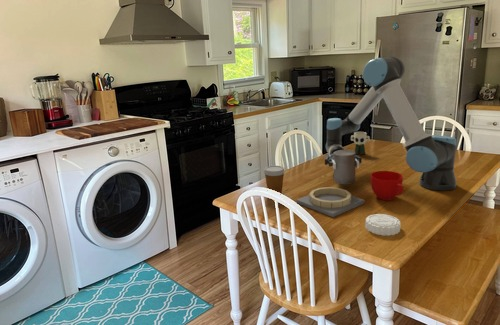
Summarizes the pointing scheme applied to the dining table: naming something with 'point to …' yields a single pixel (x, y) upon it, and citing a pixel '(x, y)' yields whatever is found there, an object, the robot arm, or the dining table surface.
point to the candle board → (332, 198)
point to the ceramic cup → (386, 184)
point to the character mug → (360, 141)
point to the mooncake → (382, 224)
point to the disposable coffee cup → (274, 177)
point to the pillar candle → (344, 166)
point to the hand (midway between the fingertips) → (346, 165)
